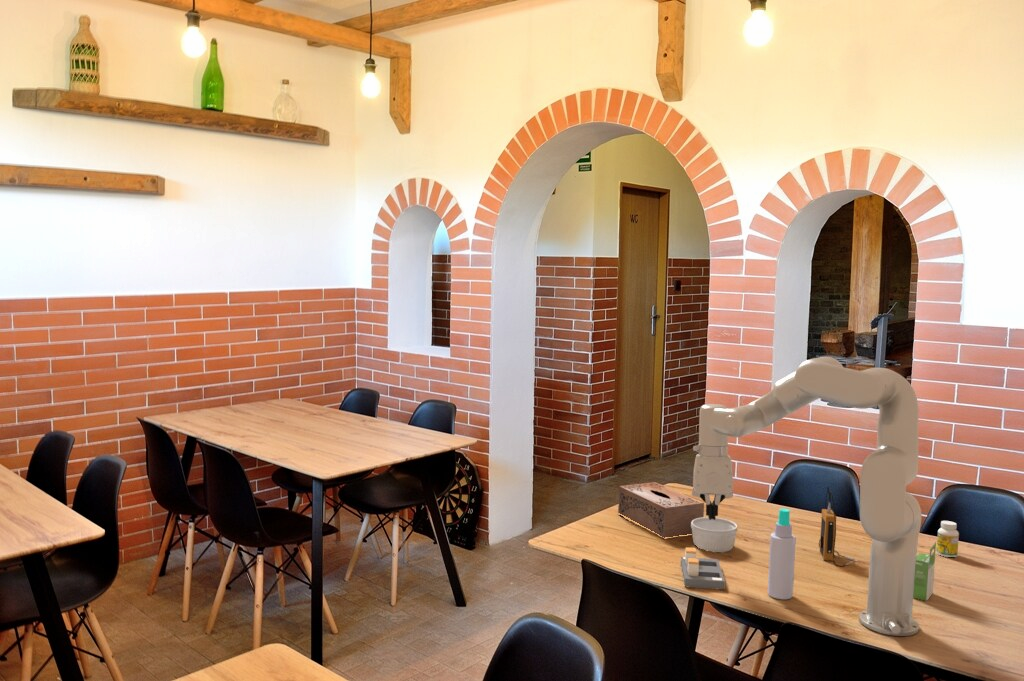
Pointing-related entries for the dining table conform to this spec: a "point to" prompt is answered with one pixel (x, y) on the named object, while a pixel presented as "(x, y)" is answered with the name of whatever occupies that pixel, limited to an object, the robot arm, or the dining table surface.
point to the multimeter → (829, 533)
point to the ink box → (924, 575)
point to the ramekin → (714, 534)
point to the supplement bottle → (947, 539)
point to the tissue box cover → (659, 508)
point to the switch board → (704, 574)
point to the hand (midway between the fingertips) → (711, 518)
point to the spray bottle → (782, 558)
